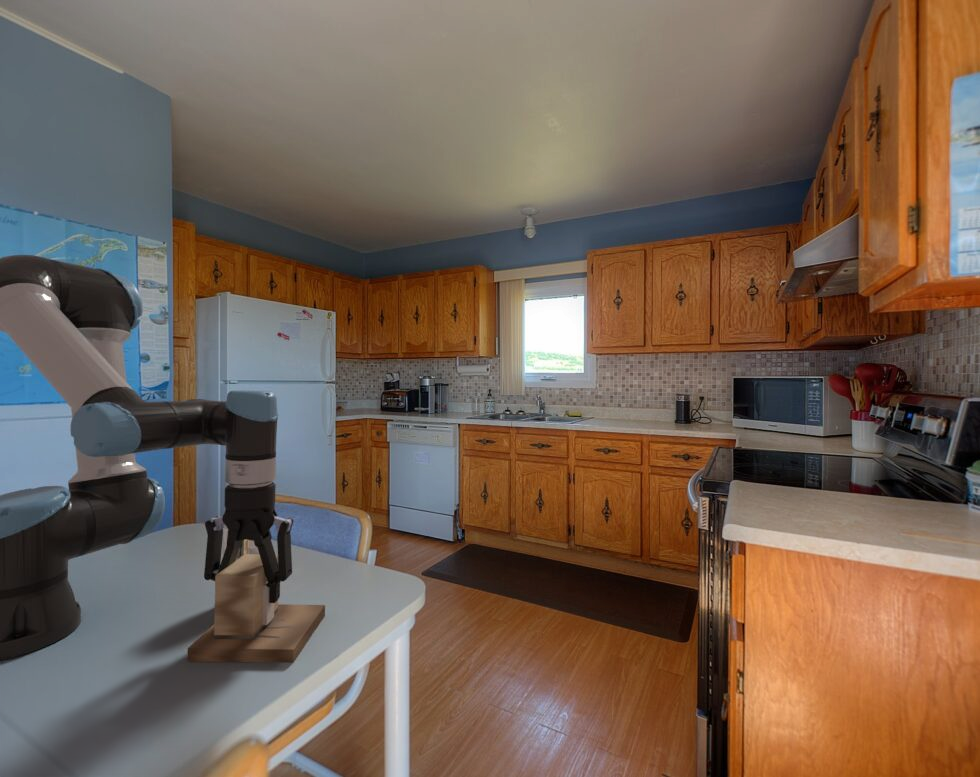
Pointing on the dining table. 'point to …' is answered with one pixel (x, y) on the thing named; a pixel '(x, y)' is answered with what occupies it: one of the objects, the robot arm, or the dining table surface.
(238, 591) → the block
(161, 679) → the dining table surface
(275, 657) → the board
